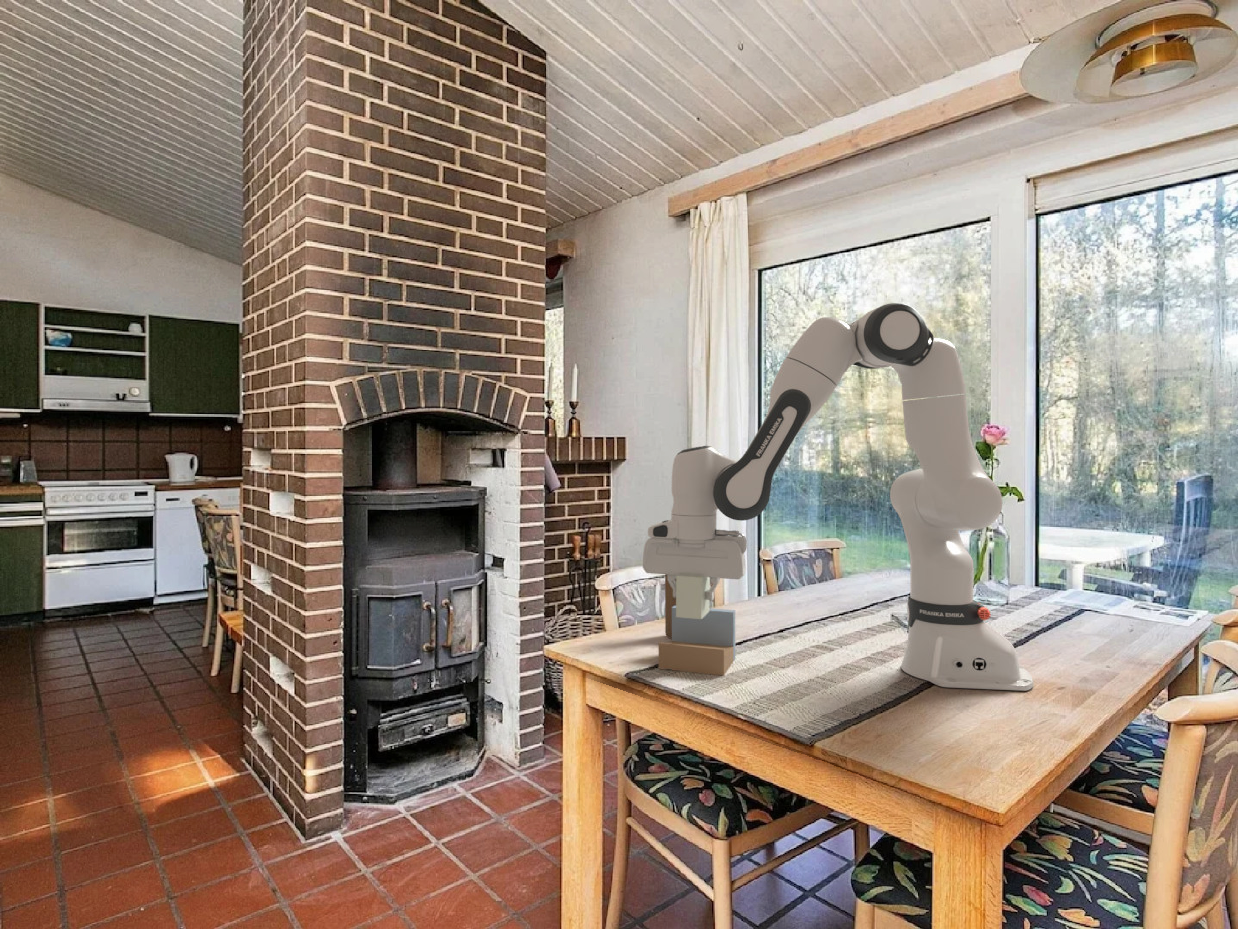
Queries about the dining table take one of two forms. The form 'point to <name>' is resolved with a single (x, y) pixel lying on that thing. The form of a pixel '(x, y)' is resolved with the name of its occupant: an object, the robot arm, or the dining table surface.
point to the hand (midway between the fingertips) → (693, 598)
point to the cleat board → (700, 643)
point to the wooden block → (668, 607)
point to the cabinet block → (692, 596)
